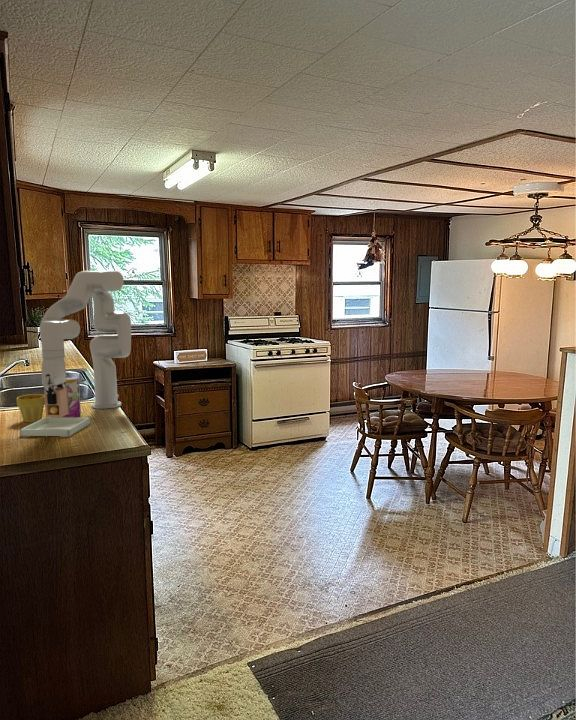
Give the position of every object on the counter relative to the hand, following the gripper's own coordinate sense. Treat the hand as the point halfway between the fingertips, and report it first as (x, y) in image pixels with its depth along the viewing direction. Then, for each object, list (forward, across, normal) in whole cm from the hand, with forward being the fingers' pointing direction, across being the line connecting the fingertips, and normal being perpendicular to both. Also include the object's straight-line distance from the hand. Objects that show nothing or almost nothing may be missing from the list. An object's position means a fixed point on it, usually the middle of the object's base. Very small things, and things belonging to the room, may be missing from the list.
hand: (56, 401), depth 194 cm
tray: (+10, +1, 0) cm, 11 cm away
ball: (+3, +1, -1) cm, 3 cm away
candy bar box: (+11, -17, -5) cm, 21 cm away
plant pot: (+11, -13, -17) cm, 24 cm away
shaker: (+5, 0, 0) cm, 5 cm away
